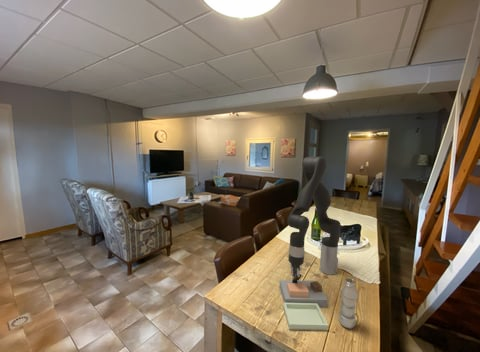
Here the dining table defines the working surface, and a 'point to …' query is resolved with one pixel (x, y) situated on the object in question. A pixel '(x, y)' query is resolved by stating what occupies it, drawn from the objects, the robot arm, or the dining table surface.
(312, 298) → the grey slab
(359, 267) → the dining table surface
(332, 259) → the robot arm
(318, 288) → the walnut block
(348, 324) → the plastic bottle
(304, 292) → the terracotta tile
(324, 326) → the tray
